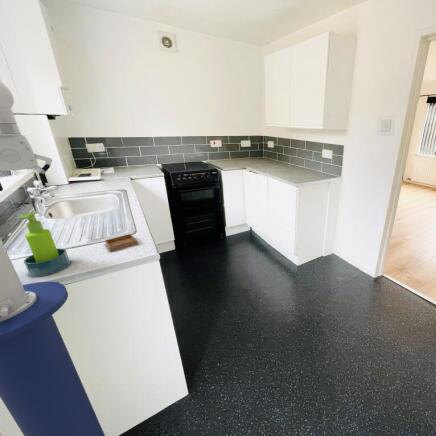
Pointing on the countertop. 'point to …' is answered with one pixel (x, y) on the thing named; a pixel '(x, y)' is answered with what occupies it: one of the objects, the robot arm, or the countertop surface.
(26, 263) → the bowl
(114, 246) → the tray
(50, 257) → the soap dispenser
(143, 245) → the countertop surface
